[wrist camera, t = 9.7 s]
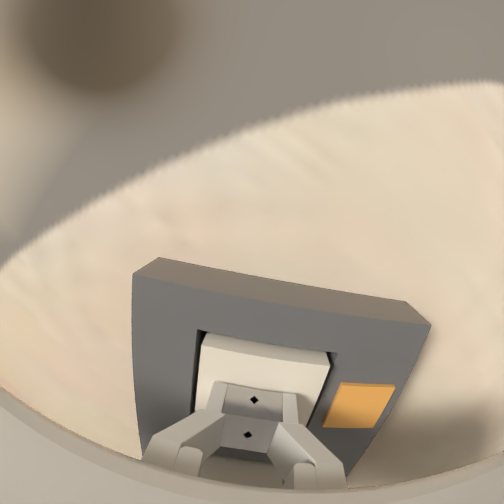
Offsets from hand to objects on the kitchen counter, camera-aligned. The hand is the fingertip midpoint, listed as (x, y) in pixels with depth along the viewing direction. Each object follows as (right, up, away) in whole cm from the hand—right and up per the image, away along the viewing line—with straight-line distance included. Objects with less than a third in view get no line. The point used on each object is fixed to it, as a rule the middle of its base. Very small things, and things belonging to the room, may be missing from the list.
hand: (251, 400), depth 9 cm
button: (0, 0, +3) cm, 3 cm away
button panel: (0, -6, +4) cm, 8 cm away
